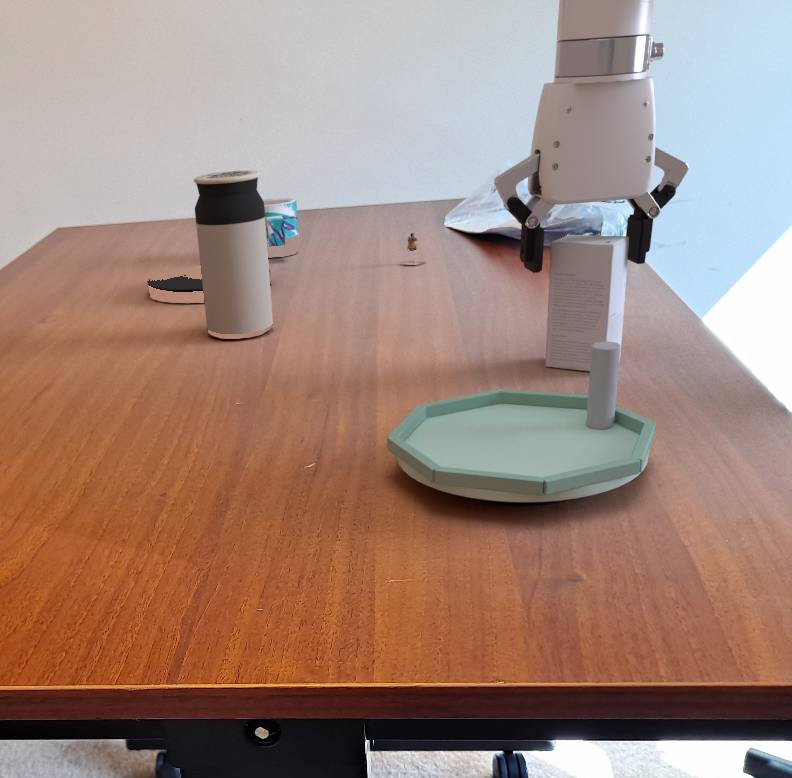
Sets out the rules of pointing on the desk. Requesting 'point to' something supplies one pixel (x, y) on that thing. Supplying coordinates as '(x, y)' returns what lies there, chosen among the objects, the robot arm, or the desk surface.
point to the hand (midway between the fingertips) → (583, 265)
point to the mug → (280, 220)
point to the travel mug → (233, 252)
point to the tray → (527, 440)
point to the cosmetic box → (584, 297)
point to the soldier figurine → (412, 242)
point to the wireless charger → (178, 284)
